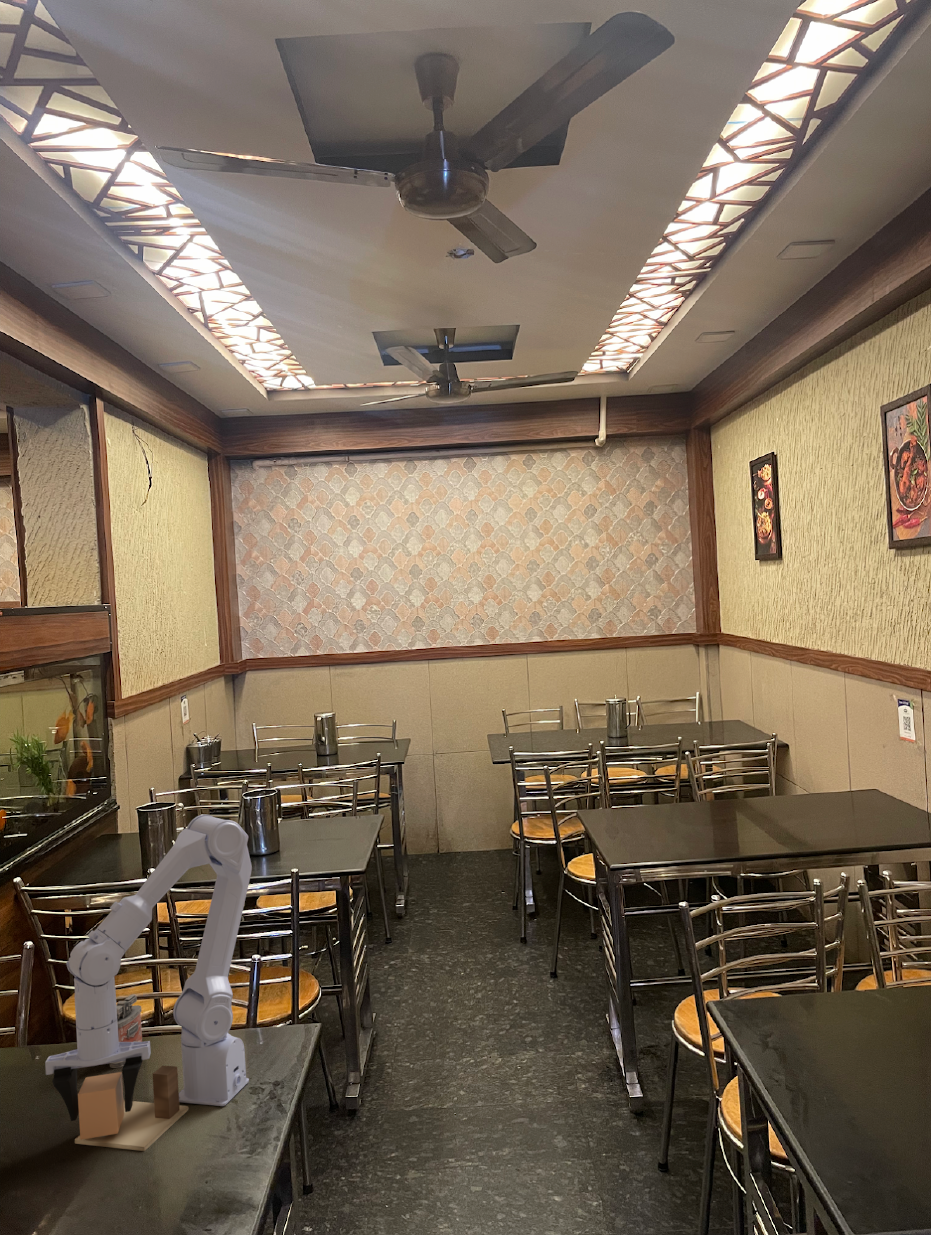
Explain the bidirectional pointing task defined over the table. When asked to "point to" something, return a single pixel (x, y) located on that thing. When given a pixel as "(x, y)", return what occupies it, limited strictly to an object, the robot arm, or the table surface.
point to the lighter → (128, 1023)
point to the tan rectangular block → (101, 1105)
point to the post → (166, 1092)
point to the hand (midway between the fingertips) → (102, 1112)
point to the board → (136, 1128)
